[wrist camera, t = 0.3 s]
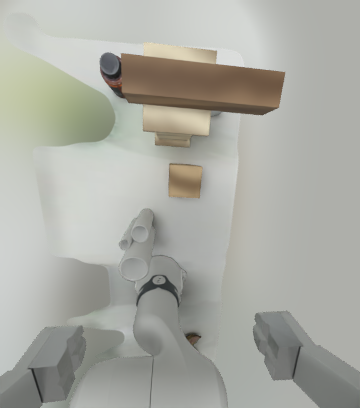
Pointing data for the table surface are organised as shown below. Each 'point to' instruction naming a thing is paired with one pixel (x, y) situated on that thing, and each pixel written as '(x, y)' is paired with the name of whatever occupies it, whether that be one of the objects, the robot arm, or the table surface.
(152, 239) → the vase
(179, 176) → the oak post
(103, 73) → the supplement bottle
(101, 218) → the table surface
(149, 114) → the birch stand
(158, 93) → the walnut rail
